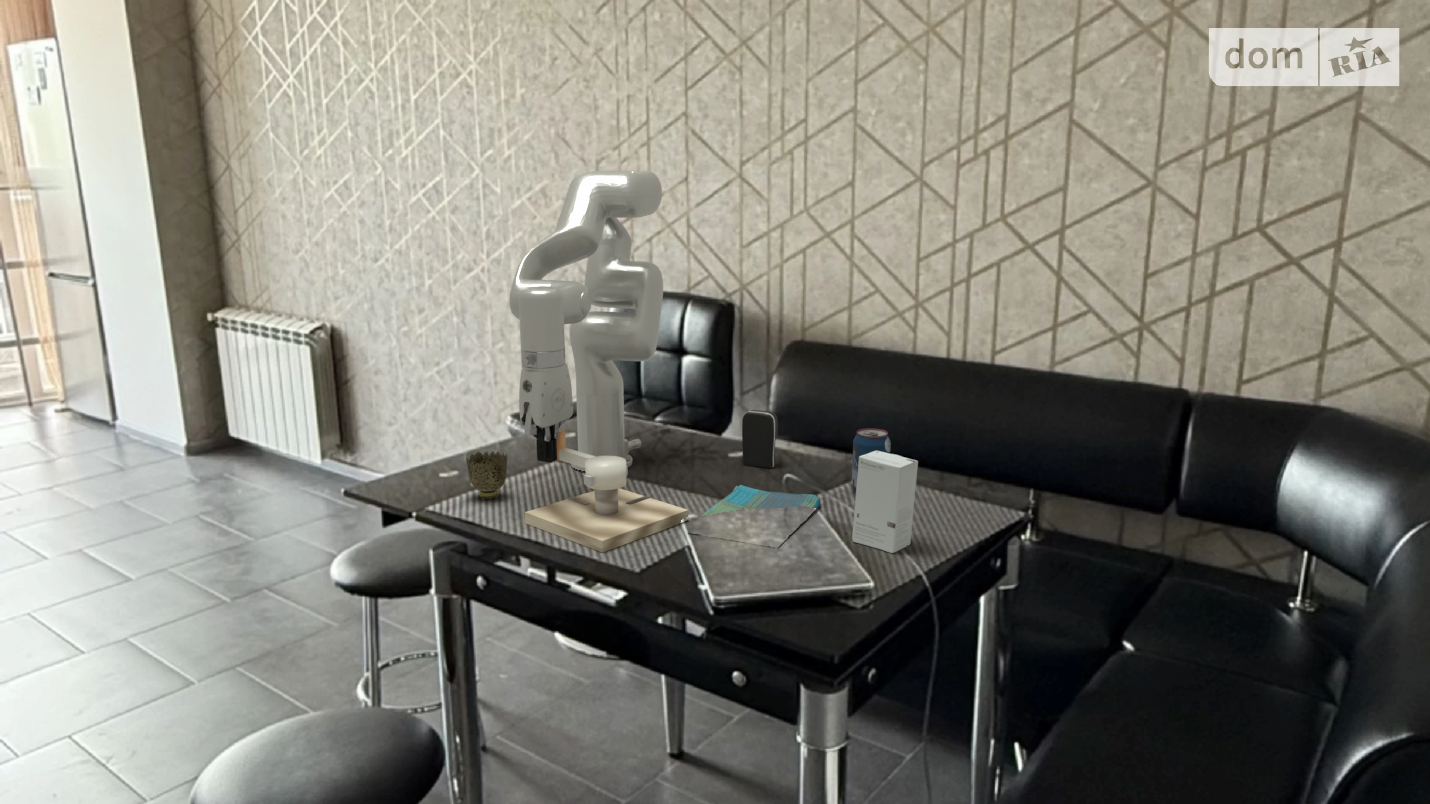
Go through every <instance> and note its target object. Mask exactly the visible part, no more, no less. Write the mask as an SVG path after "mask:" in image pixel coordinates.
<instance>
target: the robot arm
mask: <svg viewBox="0 0 1430 804" xmlns="http://www.w3.org/2000/svg"><path fill="white" fill-rule="evenodd" d="M662 195H663V190H662V184H661V180H660V178H659V177H658V175H656V173H654V172H652V171H649V170H648V171H647V170H594V171H588V172H583V173H581V174H577V175H576V176H575V177H574V178H573V179H572V180H571V181H570V183H569V186H568V189H567V193H566V196H565V198H564V201H563V205H562V207H561V210H560V211H561V212H560V213H559V217H558V219H557V223H556V227H555V229H554V231H553V232H552V233H551V234H549V235H547V236H546V237H544V238H543V239H542V240H540V241H539V242H537V243H536V244H535V246H533V247H532V248H531V249H530V250H529V251H527V253H525V255H524V256H523V257H522V259H521V260H520V262H519V264H518V266H517V268H516V272H515V274H514V278H513V281H512V284H511V288H510V291H509V301H508V302H509V303H508V305H509V308H510V312H511V314H512V315H513V317H515V318H516V319H517V320H519V333H520V334H519V337H520V338H519V340H520V357H521V358H520V359H521V370H520V375H519V377H520V378H519V392H518V393H519V394H518V399H519V400H518V403H519V404H518V405H519V406H518V407H519V408H518V409H519V410H518V411H519V419H520V420H519V421H520V422H521V424H522V425H523V426H524V435H530V436H533V439H534V440H535V441H536V459H537V461H538V462H543V463H547V464H548V463H550V464H551V463H554V462H555V461H558V460H557V439H555V438H558V435H559V430H560V428H561V426H562V425H563V424H564V423H566V421H567V420H568V419H570V418H571V417H572V416H573V414H574V403H573V402H574V400H573V388H572V382H571V376H570V375H571V374H570V371H569V370H570V369H569V366H568V363H566V344H565V343H566V342H565V338H566V337H565V325H570V326H569V340H570V348H571V351H572V356H573V363H574V371H575V388H576V389H575V390H576V391H575V394H576V396H575V397H576V425H577V426H576V427H577V428H576V429H577V451H579V452H582V453H586V454H589V455H593V456H596V457H597V456H618V457H622V458H624V459H625V460H626V466H628V468H630V467H631V466H632V465H633V457H632V456H631V455H630V454H629V453H630V452H631V451H632V450H635V449H638V448H641V447H642V441H641V439H640V438H636V439H632V440H628V439H627V438H625V405H624V404H625V401H624V399H625V398H624V397H625V396H624V392H625V391H624V379H623V376H622V374H621V372H620V370H619V369H618V367H617V366H616V364H615V363H614V361H622V362H623V361H624V362H625V361H627V362H645V361H649V360H650V359H652V358H653V356H654V355H655V353H656V350H657V346H658V339H659V333H660V332H659V331H660V324H661V322H660V321H661V315H662V306H663V300H664V299H663V297H664V278H663V275H662V271H661V270H660V268H659V267H658V266H657V264H655V263H653V262H649V261H640V260H637V261H635V260H631V255H632V245H633V241H632V237H631V235H630V234H629V232H628V230H627V228H626V227H625V225H624V224H623V223H622V222H621V221H620V220H619V218H620V219H621V218H624V219H630V218H631V219H633V218H634V219H635V218H637V219H638V218H642V217H643V218H644V217H647V216H651V215H653V214H654V213H655V212H656V211H657V210H658V209H659V207H660V205H661V201H662V197H663V196H662ZM584 259H587V262H586V269H585V277H584V284H583V283H581V282H578V281H574V280H556V279H555V280H553V279H543V278H545V277H546V276H547V275H548V274H550V273H552V272H554V271H556V270H558V269H561V268H563V267H565V266H569V265H572V264H575V263H578V262H581V261H583V260H584ZM592 306H594V307H598V308H612V309H632V310H633V309H634V310H635V312H619V311H617V312H616V311H597V310H596V311H593V310H592V311H591V309H592ZM570 466H571V467H572V469H574V468H575V469H574V470H576V469H577V471H579V470H581V471H580V472H583V471H585V468H583V467H580V466H576V465H573V464H570Z"/></svg>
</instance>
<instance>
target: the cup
mask: <svg viewBox="0 0 1430 804" xmlns="http://www.w3.org/2000/svg"><path fill="white" fill-rule="evenodd" d="M465 459H466V464H467V465H466V466H467V470H468V476H469V480H470V483H471V485H472V486H473V487H472V488H474V489H475V490H477V491H478V495H479V497H480V499H482V498H484V499H483V500H491V499H490V498H494V499H496V498H498V496H499V493H500V491H499V489H501V488H502V487H503V486H504V484H505V482H506V478H507V469H508V468H507V467H508V453H506V454H505V452H502V454H501V453H500V452H499V451H498V450H497V451H496V452H495V451H494V450H492V451H491V452H490V453H489V451H488V450H486V451H485V452H484V454H483V453H482V452H480V451H477V452H475V453H474V454H473V453H470V454H469V458H468V457H466V458H465Z"/></svg>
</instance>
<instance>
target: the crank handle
mask: <svg viewBox="0 0 1430 804" xmlns="http://www.w3.org/2000/svg"><path fill="white" fill-rule="evenodd" d="M566 436H567V435H566V430H565V429H559V435H558V438H555V439H557V460H556V461H560V462H564V463H567V464H570V465H571V464H573V465H576V466H580V467H583V468H585V474H584V475H583V485H584V486H586V487H587V488H588V489H593V490H595V489H596V490H613V489H618V488H620V489H622V488H623V487H625V486H626V485H627V484H628V483H627V476H628V475H629V471H628V469H629V467H628V466H626V460H625V459H624V458H622V457H618V456H597V457H596V456H593V455H589V454H586V453H582V452H579V451H578V450H575V449H572V448H568V447H567V441H566V440H567V437H566Z"/></svg>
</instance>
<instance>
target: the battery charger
mask: <svg viewBox="0 0 1430 804" xmlns="http://www.w3.org/2000/svg"><path fill="white" fill-rule="evenodd" d="M741 421H742V424H741V441H742V443H741V444H742V461H741V462H742V465H745V466H750V467H758V468H767V469H771V468H772V469H773V468H774V467H775V465H776V456H775V455H776V454H775V451H776V439H777V437H778V430H779V429H778V428H779V427H778V423H779V422H778V417H777V415H776V413H775V412H774V411H773V412H772V411H769V410H759V409H751V410H749V411H746V412H745V413H744V414H743V416H742V420H741Z"/></svg>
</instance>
